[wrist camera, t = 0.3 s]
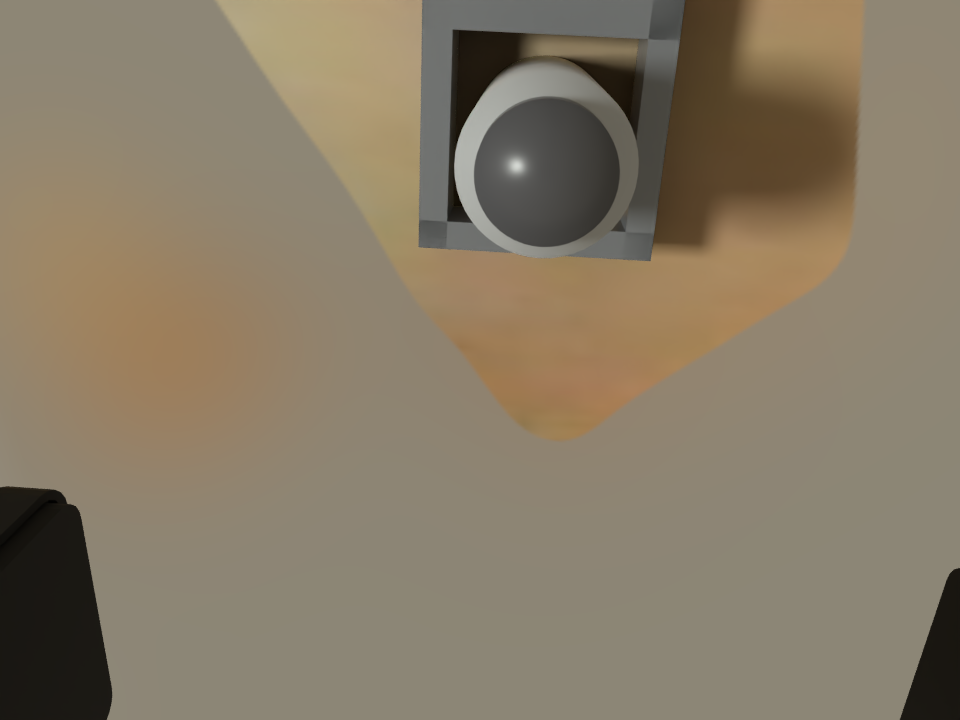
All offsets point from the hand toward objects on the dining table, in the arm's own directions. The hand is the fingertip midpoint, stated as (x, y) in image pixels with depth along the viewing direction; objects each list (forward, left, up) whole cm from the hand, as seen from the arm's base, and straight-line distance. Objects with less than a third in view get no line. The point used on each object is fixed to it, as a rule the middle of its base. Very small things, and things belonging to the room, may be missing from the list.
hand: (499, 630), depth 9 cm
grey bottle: (-2, +1, -30) cm, 30 cm away
